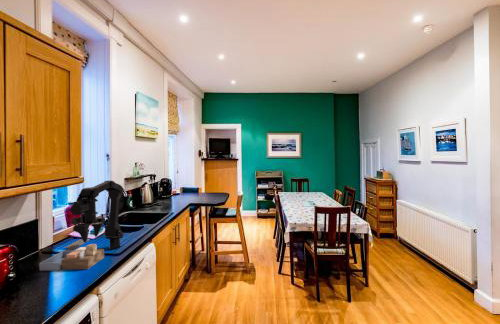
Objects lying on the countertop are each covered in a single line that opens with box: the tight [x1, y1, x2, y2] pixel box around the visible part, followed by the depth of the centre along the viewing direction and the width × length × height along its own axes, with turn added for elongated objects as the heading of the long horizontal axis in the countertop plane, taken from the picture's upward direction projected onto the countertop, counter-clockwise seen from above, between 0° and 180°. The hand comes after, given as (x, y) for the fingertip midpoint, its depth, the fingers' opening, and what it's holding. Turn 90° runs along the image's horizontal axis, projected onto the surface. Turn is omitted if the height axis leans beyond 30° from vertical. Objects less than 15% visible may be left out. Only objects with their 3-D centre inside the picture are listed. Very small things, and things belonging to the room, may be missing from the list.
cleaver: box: [63, 238, 91, 251], centre depth 162 cm, size 29×10×2 cm, turn 7°
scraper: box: [79, 243, 98, 259], centre depth 137 cm, size 12×5×5 cm, turn 179°
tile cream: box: [74, 246, 86, 252], centre depth 140 cm, size 4×4×2 cm
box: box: [38, 250, 74, 272], centre depth 138 cm, size 16×10×4 cm, turn 179°
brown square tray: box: [61, 248, 105, 270], centre depth 137 cm, size 14×14×5 cm
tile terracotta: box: [67, 250, 81, 259], centre depth 134 cm, size 4×4×2 cm
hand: (90, 239), depth 137 cm, fingers open, 9 cm apart
